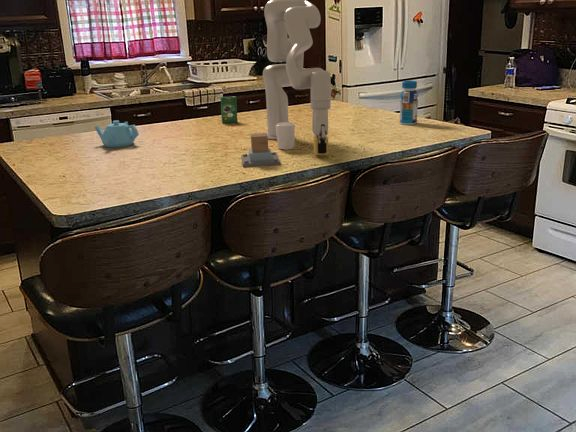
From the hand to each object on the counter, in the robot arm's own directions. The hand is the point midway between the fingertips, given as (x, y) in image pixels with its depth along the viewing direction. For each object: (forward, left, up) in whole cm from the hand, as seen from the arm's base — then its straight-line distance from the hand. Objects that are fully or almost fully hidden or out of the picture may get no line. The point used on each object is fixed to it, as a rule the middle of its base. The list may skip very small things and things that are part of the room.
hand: (320, 150), depth 235 cm
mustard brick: (0, 0, -1) cm, 1 cm away
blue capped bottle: (-54, +51, -2) cm, 75 cm away
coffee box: (-83, -34, -2) cm, 90 cm away
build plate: (+3, -24, -2) cm, 24 cm away
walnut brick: (+3, -24, +2) cm, 24 cm away
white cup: (-17, -12, -2) cm, 21 cm away
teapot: (-43, -84, -2) cm, 94 cm away
